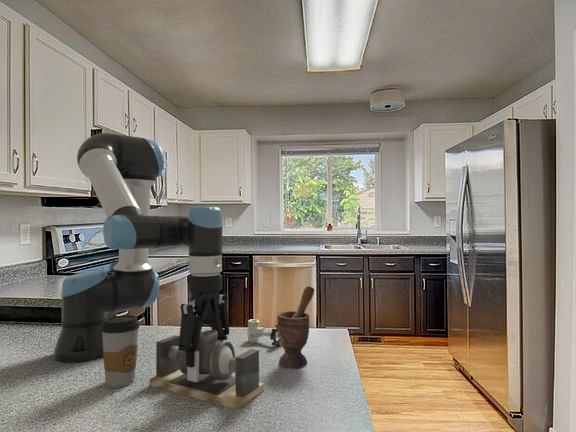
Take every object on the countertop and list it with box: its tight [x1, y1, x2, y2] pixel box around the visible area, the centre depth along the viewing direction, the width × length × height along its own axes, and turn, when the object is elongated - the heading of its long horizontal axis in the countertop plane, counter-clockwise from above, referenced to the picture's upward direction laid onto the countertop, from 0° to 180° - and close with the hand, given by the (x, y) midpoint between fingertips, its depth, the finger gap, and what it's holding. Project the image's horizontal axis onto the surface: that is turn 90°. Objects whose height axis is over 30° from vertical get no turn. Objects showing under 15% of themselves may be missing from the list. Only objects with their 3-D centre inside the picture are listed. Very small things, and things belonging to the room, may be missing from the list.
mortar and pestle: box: [276, 285, 315, 369], centre depth 103 cm, size 12×9×20 cm
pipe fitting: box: [178, 329, 236, 380], centre depth 87 cm, size 12×8×10 cm
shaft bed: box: [149, 335, 265, 410], centre depth 87 cm, size 25×10×10 cm, turn 62°
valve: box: [246, 318, 281, 347], centre depth 120 cm, size 7×7×12 cm
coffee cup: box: [101, 314, 140, 389], centre depth 90 cm, size 8×8×15 cm
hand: (205, 373), depth 87 cm, fingers closed on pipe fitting, 7 cm apart
